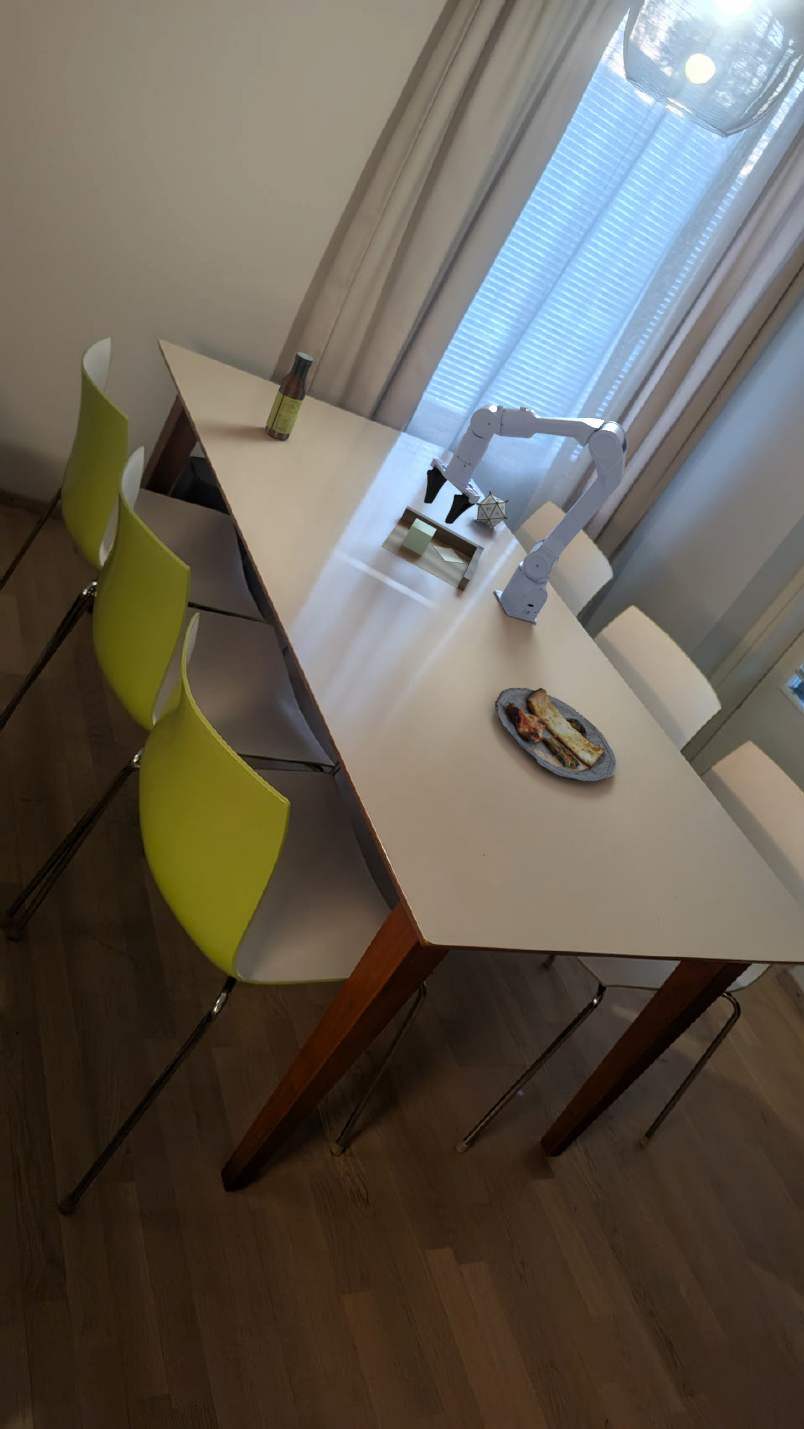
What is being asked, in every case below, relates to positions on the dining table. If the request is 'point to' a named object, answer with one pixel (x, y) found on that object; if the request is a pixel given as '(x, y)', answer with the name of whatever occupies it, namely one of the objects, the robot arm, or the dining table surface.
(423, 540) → the sage cube
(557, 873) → the dining table surface
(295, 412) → the sauce bottle
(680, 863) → the dining table surface
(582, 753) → the food plate
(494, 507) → the game die
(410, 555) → the arena
